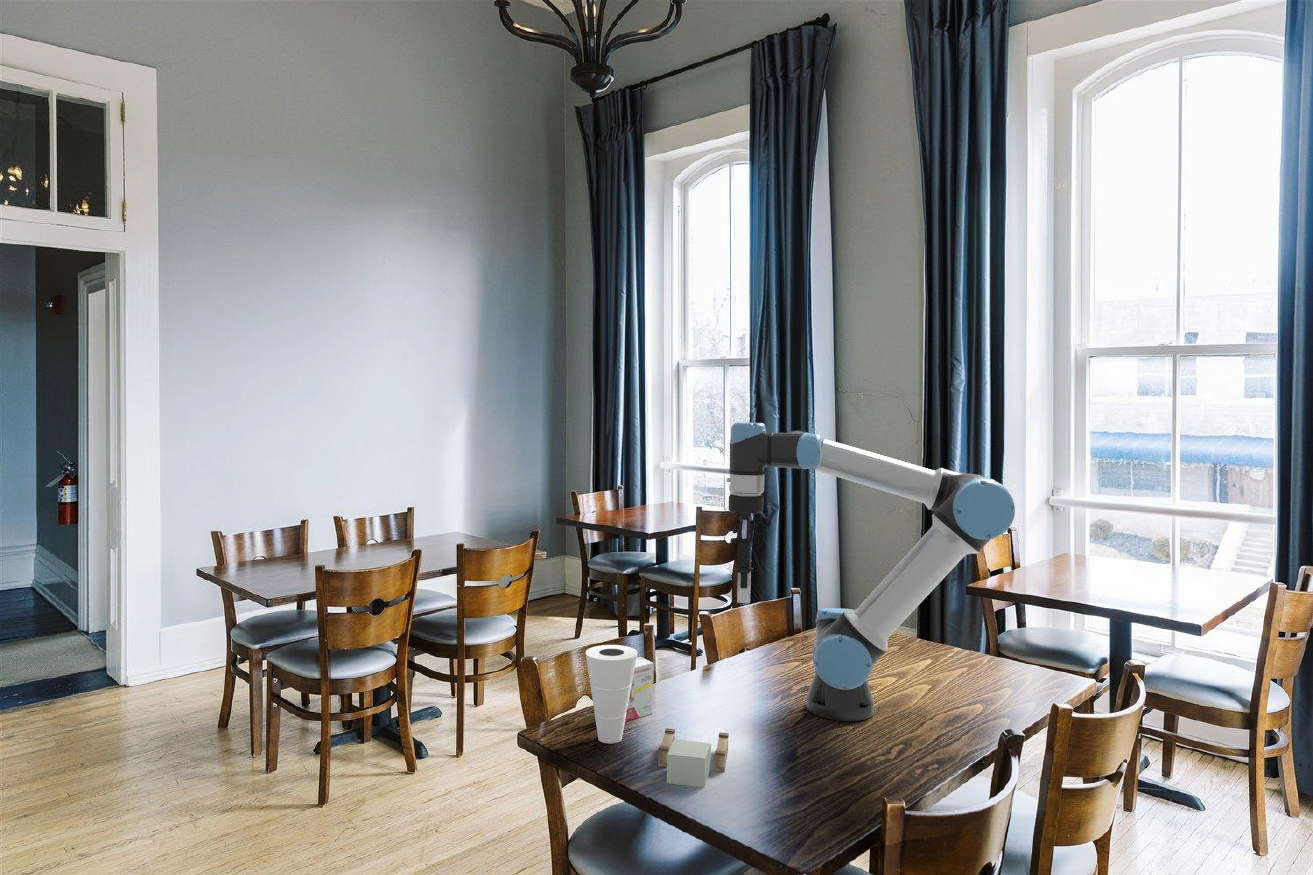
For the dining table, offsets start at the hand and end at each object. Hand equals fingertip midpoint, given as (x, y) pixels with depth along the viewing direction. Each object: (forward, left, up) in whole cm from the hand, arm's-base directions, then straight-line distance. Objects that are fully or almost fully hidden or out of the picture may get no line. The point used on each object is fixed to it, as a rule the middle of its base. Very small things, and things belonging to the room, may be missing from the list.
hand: (743, 601), depth 183 cm
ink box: (+24, +1, -27) cm, 36 cm away
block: (+8, +29, -27) cm, 40 cm away
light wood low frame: (+8, +21, -26) cm, 35 cm away
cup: (+26, +15, -27) cm, 40 cm away
